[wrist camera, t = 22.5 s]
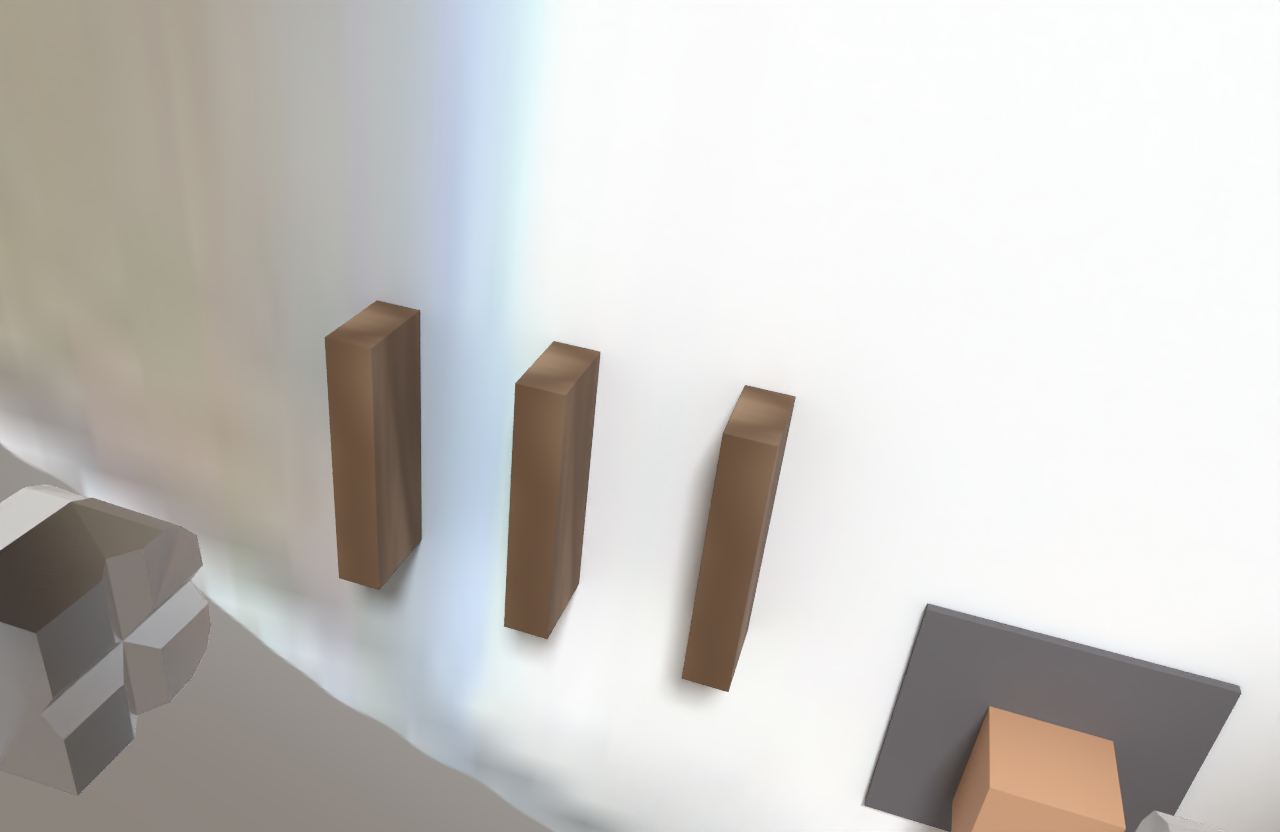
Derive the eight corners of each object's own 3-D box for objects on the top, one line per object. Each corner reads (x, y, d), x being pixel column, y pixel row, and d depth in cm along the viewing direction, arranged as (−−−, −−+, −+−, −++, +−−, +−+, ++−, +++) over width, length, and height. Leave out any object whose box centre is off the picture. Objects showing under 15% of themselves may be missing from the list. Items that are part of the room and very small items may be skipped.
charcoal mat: (1239, 686, 39) (1241, 693, 39) (1132, 880, 45) (1133, 888, 45) (927, 603, 42) (927, 609, 41) (865, 799, 48) (864, 805, 47)
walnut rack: (795, 396, 39) (777, 446, 36) (747, 630, 45) (728, 692, 42) (376, 300, 43) (324, 337, 39) (383, 528, 49) (339, 578, 45)
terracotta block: (1113, 741, 42) (1125, 828, 38) (1067, 836, 45) (1074, 925, 41) (989, 706, 43) (989, 787, 39) (952, 801, 46) (949, 885, 42)
